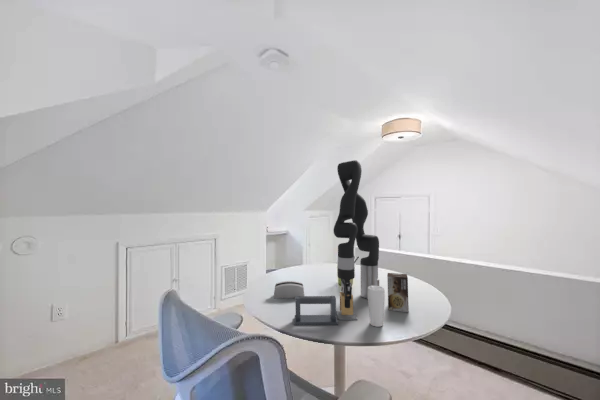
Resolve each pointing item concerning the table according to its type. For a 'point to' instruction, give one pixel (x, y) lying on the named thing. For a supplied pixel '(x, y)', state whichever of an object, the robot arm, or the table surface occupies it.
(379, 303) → the drinking glass
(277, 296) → the grey curved block
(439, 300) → the table surface
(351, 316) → the slate pad
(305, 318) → the rail stand
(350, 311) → the block
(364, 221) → the robot arm
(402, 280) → the cookie box
